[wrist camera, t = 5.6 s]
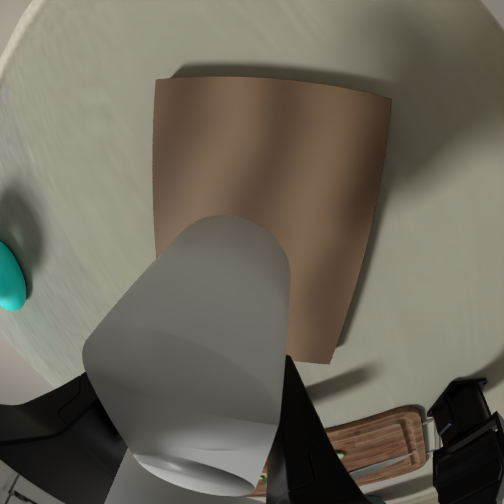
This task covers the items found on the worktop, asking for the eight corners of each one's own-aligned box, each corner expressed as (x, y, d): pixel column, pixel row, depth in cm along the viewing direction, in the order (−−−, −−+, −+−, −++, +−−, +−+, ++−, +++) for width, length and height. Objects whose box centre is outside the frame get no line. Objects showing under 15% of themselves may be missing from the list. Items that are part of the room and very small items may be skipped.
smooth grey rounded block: (299, 224, 8) (300, 354, 4) (265, 406, 12) (250, 501, 8) (166, 208, 8) (57, 300, 4) (183, 391, 12) (149, 477, 8)
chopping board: (436, 388, 25) (442, 408, 22) (438, 456, 33) (440, 469, 30) (150, 441, 39) (145, 454, 37) (232, 492, 48) (229, 502, 45)
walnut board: (384, 100, 14) (391, 98, 13) (328, 352, 23) (329, 364, 22) (166, 81, 16) (155, 79, 14) (171, 326, 25) (165, 337, 23)
